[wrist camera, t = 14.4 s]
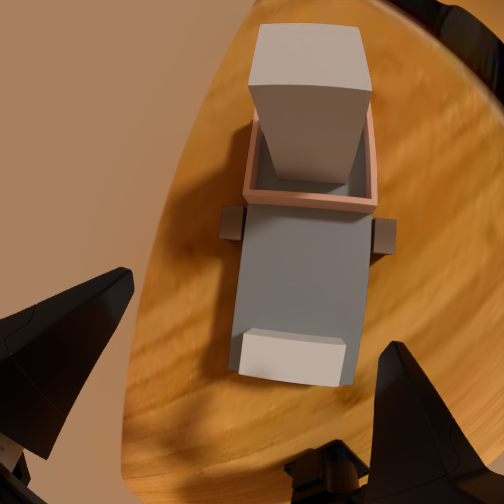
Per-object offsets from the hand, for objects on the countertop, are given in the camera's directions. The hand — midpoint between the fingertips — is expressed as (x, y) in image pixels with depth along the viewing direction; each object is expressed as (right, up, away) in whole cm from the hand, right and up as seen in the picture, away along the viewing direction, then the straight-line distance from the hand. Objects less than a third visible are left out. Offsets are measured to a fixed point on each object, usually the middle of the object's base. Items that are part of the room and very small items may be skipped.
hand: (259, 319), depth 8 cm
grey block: (+4, +10, +11) cm, 15 cm away
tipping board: (+4, +4, +11) cm, 12 cm away
